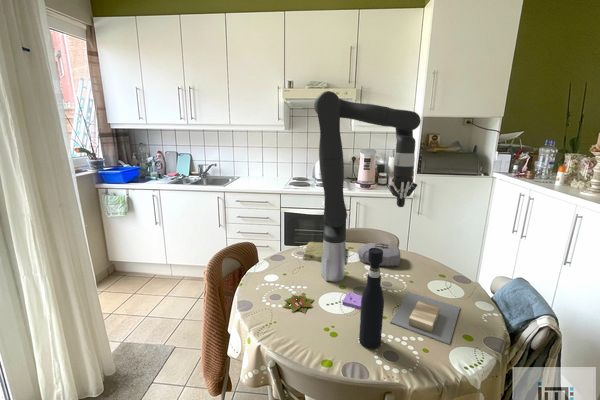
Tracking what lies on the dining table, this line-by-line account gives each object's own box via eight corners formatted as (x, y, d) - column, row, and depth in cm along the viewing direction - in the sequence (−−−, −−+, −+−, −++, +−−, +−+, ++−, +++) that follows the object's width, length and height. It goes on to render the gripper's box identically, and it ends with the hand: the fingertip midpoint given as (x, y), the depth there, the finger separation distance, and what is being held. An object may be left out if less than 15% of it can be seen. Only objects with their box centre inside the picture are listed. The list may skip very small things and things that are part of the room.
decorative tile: (308, 246, 162) (308, 240, 161) (345, 249, 158) (346, 243, 157) (301, 261, 145) (301, 255, 144) (343, 265, 141) (343, 258, 140)
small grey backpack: (399, 256, 149) (358, 251, 155) (400, 240, 147) (359, 236, 153) (400, 270, 135) (355, 265, 141) (401, 253, 133) (356, 248, 138)
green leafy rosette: (290, 293, 118) (290, 282, 117) (319, 299, 114) (319, 289, 112) (276, 310, 108) (276, 298, 106) (307, 318, 103) (307, 306, 102)
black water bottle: (356, 335, 94) (361, 246, 87) (376, 334, 95) (383, 245, 87) (362, 350, 88) (368, 255, 80) (383, 348, 89) (391, 254, 81)
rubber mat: (408, 292, 117) (408, 291, 117) (460, 308, 108) (460, 307, 107) (389, 322, 100) (390, 321, 100) (449, 344, 90) (449, 343, 90)
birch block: (418, 300, 107) (409, 317, 97) (439, 306, 103) (432, 325, 94) (417, 307, 108) (408, 325, 98) (438, 313, 104) (431, 333, 94)
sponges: (347, 296, 116) (347, 291, 116) (380, 304, 111) (380, 299, 111) (341, 305, 110) (341, 301, 110) (376, 314, 105) (376, 310, 104)
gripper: (394, 166, 113) (391, 210, 118) (424, 164, 117) (420, 207, 121) (384, 163, 120) (381, 205, 125) (412, 162, 124) (409, 203, 128)
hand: (400, 206), depth 123 cm, fingers closed
